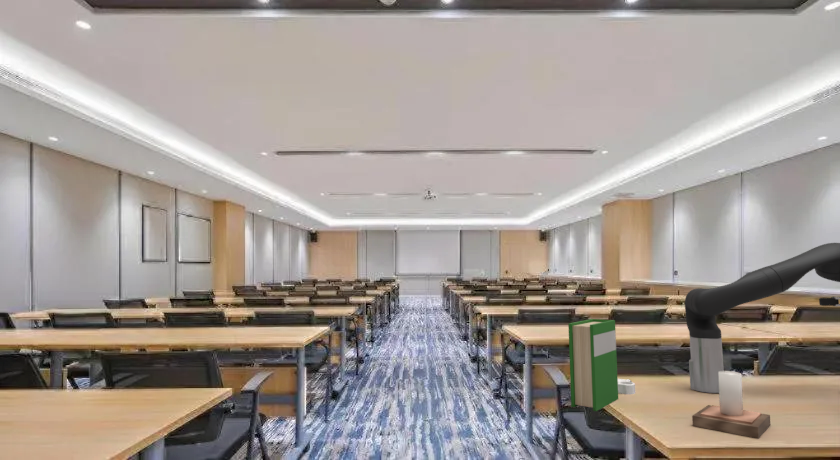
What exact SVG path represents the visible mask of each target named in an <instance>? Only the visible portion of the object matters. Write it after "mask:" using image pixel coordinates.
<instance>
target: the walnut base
mask: <svg viewBox="0 0 840 460" xmlns="http://www.w3.org/2000/svg"><path fill="white" fill-rule="evenodd" d="M691 418H692V427H697V428H702V429H708V430H712V431H717V432H718V431H719V432H723V433H728V434H733V435H739V436H743V437H744V436H745V437H750V438H755V439H760V438H761V436H762V435H763V434H764V433H765V432H766V431H767V430H768V428H769V427H770V426H771V424H772V423H771V415H770V414H768V413H767V414H766V413H762V412H758V411H757V412H756V411H752V410H745V409H743V415H742V416H731V415H726V414H723V413H721V412H720V405H710V404H708V405H706V406H704V407H703V408H702V409H700V410H699V411H697V412H696V413H694V414H692V415H691Z"/></svg>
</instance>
